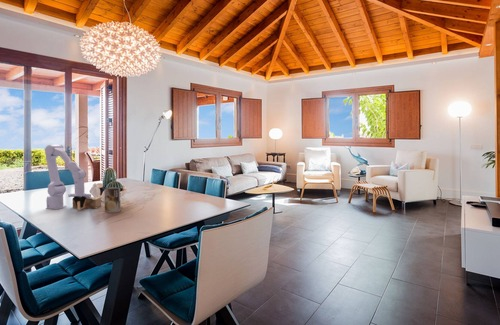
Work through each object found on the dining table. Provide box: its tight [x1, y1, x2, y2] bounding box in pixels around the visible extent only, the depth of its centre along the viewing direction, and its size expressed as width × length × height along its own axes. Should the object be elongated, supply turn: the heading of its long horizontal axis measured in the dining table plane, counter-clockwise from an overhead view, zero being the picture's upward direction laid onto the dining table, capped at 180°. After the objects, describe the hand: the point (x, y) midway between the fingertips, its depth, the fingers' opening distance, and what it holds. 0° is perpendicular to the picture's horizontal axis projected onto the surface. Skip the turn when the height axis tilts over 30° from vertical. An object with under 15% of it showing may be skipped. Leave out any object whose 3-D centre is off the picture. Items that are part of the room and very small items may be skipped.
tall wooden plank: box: [76, 200, 87, 211], centre depth 201 cm, size 2×12×6 cm, turn 1°
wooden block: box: [72, 196, 102, 209], centre depth 206 cm, size 16×8×7 cm, turn 91°
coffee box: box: [103, 186, 122, 214], centre depth 194 cm, size 9×6×16 cm
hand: (80, 207), depth 197 cm, fingers closed on tall wooden plank, 2 cm apart
